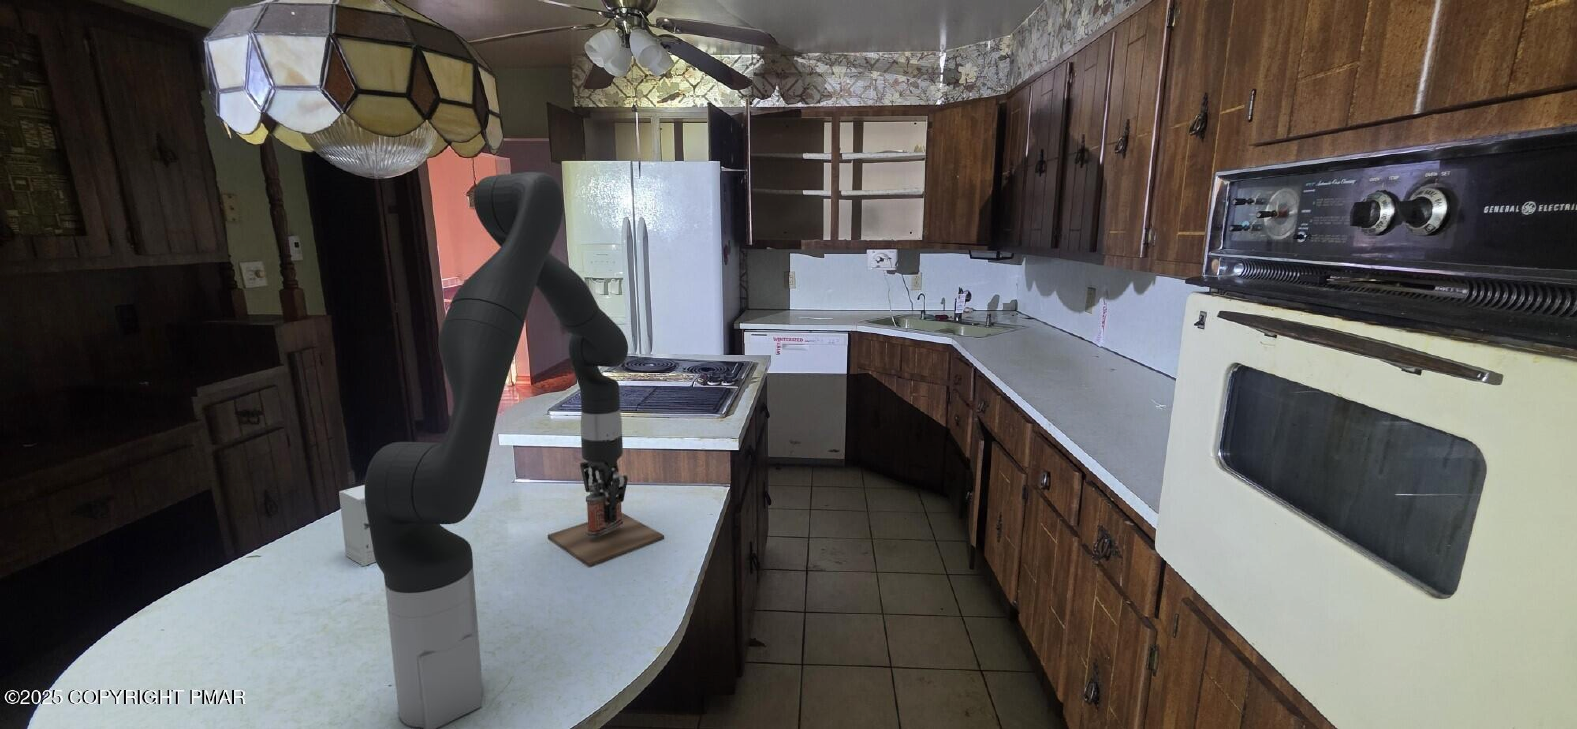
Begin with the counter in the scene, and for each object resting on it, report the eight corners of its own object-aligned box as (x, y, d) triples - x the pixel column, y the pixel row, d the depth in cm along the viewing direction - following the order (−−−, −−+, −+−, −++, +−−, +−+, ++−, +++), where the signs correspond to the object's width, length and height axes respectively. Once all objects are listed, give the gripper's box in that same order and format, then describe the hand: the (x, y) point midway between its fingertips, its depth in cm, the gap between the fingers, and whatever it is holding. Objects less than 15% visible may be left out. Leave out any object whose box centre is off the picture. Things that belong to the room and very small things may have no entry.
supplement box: (363, 567, 111) (356, 499, 109) (345, 556, 115) (337, 490, 113) (407, 551, 117) (401, 487, 115) (388, 541, 121) (382, 478, 119)
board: (664, 539, 123) (664, 535, 123) (589, 567, 112) (589, 563, 112) (620, 515, 134) (619, 511, 134) (547, 538, 123) (547, 534, 123)
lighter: (614, 519, 127) (613, 472, 125) (626, 523, 125) (625, 475, 123) (583, 534, 120) (580, 484, 118) (595, 538, 118) (593, 488, 117)
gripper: (565, 429, 121) (569, 513, 124) (603, 445, 112) (606, 536, 115) (600, 422, 127) (603, 503, 130) (639, 437, 117) (642, 524, 120)
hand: (604, 518), depth 122 cm, fingers closed on lighter, 3 cm apart
